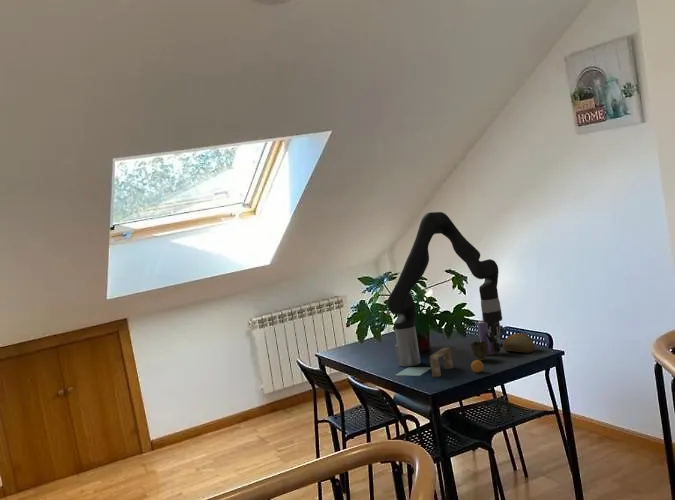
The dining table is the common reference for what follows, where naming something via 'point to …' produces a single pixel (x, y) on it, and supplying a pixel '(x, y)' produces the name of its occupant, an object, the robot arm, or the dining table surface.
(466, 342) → the dining table surface
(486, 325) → the beverage can
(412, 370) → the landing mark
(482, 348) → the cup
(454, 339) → the dining table surface
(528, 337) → the bread roll
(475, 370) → the ball
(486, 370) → the dining table surface
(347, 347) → the dining table surface
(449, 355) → the bridge
